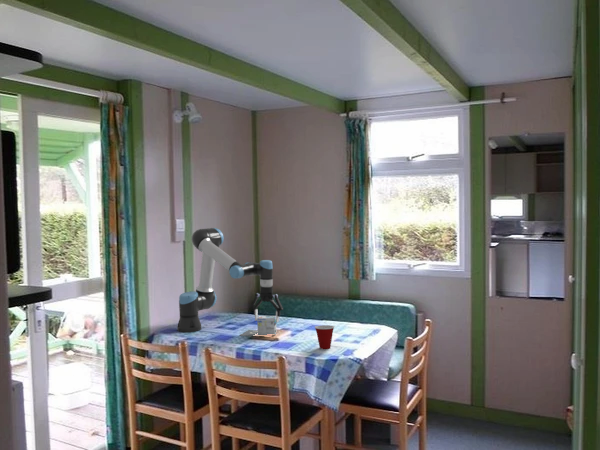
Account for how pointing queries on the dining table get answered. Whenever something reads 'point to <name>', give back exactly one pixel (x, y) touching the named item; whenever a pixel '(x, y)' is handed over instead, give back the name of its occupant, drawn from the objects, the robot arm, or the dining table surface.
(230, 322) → the dining table surface
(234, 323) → the dining table surface
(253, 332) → the tile
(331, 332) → the plastic cup
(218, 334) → the dining table surface
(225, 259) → the robot arm
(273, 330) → the light bulb box
